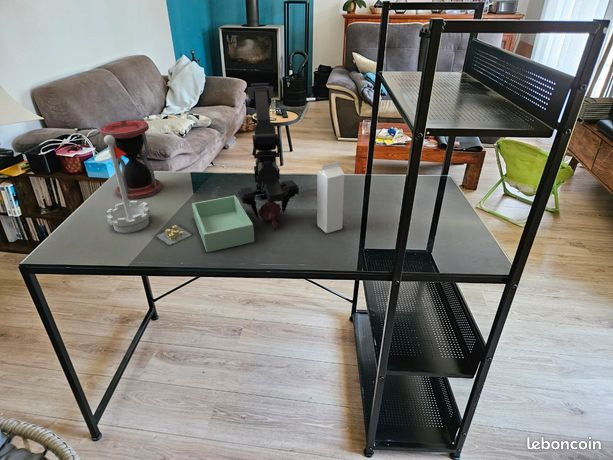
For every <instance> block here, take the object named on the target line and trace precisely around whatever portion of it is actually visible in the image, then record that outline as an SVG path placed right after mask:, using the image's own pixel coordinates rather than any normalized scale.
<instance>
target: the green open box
mask: <svg viewBox="0 0 613 460" xmlns="http://www.w3.org/2000/svg"><path fill="white" fill-rule="evenodd" d="M191 207H192V212H193V218H194V221H195V224H196V227H197V230H198V232H199V236H200V238H201V241H202V243H203V246H204V250H205V252H206V253H211V252H214V251H218V250H219V251H220V250H223V249H229V248H233V247H236V246H242V245H247V244H252V243H254V242H255V231H254V223H253V222H252V220H251V219H250V217H249V216H248V214H247V212H246V210H245V209H244V207H243V206H242V204H241V202H240V200H239V199H238V198H237V196H236V195H230V196H225V197H218V198H214V199H208V200H202V201H197V202H192V203H191Z"/></svg>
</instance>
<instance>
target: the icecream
mask: <svg viewBox="0 0 613 460" xmlns="http://www.w3.org/2000/svg"><path fill="white" fill-rule="evenodd" d="M281 211H282V207H281V204H279V203H277V202H276V201H275V202H272V203H270V202H268V200H267V199H266V200H265V202H264V203H263V204H262V205H261V206H260V208H259V210H258V215H259V216H260V217H261V218H262V219H263V221H264V222H267V223H271V226H272V228H273V230H277V229H278V228H279V227H278V225H279V224H278V222H277V221H278V219H280V216H281Z"/></svg>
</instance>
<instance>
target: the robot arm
mask: <svg viewBox="0 0 613 460" xmlns="http://www.w3.org/2000/svg"><path fill="white" fill-rule="evenodd" d="M247 98H248V100H250V104H251V106H252V107H253V109H254V110H255V116H256V124H255V126H254V128H253V129H254V130H253V131H254V134H253V135H252V148H253V159H255V165H254V166H253V170H254V171H253V172H254V182H255V183H256V184H255V186H256V188H255V189H254V190H253V189H252V188H251V187H250V186H249V187H243V188H239V189H238V193H237V194H238V198H239V199H240V200H239V201H241V203H242V204H243V205H244V204H246V205H247V206H250V207H251V210H252V212H253V214H254V216H255V218H256V219H258V218H259V212H258V208H257V201H256V197H259V198H260V199H261V200H265V199H266V200H268V202H270V203H272V202H275V203H276V202H281V212H282V213H286V209H287V207H288V203H289V202H290V200H291V199H292V198H293V197H295V196H296V195H298V194H299V193H300V191H299V190H300V188H299V185H298V184H297V183H296V182H295V181H294V180H293V179H290V180H283V181H281V182H280V181H279V180H280V179H281V178H280V177H281V176H280V173H281V171H280V170H281V169H280V168H279V166H278V164H277V158H281V154H282V144H281V143H282V142H281V137H280V136H279V133H276V126H275V125H274V124H273V123H272V122H271V114H270V106H271V105H272V99H274V86H270V83H269V82H264V83H262V82H261V83H250V86H249V87H247Z"/></svg>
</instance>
